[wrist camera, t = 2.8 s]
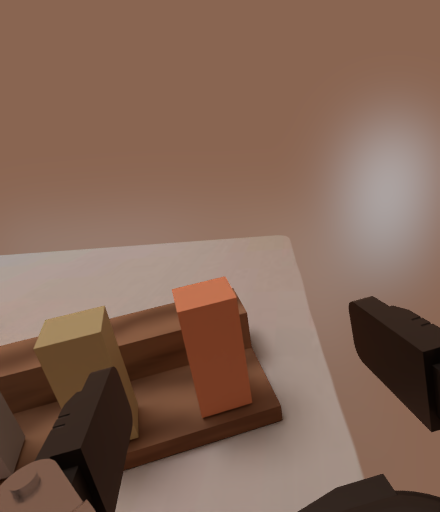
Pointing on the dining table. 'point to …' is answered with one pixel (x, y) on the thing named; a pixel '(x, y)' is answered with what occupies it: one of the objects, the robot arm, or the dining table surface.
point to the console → (140, 390)
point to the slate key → (9, 440)
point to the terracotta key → (214, 345)
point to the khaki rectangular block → (81, 354)
